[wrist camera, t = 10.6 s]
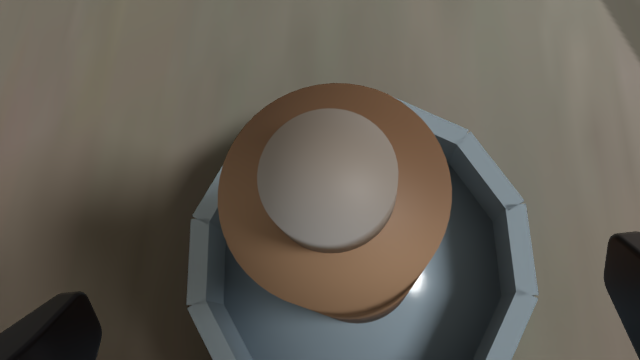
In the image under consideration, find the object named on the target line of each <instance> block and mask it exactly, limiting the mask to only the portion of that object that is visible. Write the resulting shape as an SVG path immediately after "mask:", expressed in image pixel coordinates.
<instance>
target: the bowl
mask: <svg viewBox="0 0 640 360" xmlns="http://www.w3.org/2000/svg"><path fill="white" fill-rule="evenodd" d="M394 98H395V97H394ZM395 99H397V98H395ZM397 100H399V99H397ZM399 101H401V100H399ZM401 102H402V103H404V104H405V105H406V106H408V107H409V108H410V109H412V110H413V111H414V112H415V113H416V114H417V115H418V116H419V117H420V118H421V119H422V120H423V121H424V122H425V123H426V124H427V126H428V127H429V128H430V129H431V131H432V132H433V134H434V135H435V137H436V139H437V140H438V142H439V143H440V145H441V148H442V150H443V152H444V155H445V157H446V160H447V164H448V167H449V171H450V177H451V185H452V204H451V211H450V218H449V221H448V225H447V228H446V232H445V234H444V237H443V239H442V241H441V243H440V245H439V248H438V249H437V251H436V252H435V254H434V256H433V257H432V259H431V260H430V262H429V263H428V265H427V266H426V268H425V269H424V271H423V272H422V274H421V275H420V276H419V278H418V279H417V281H416V282H415V284H414V285H413V287H412V288H411V290H410V291H409V293H408V294H407V296H406V297H405V298H404V300H403V301H402V302H401V304H400V305H399V306H398V307H397V308H396V309H395V310H394V311H393V312H391V313H390V314H388V315H387V316H385V317H383V318H381V319H379V320H376V321H373V322H368V323H359V324H356V323H347V322H343V321H340V320H337V319H334V318H331V317H329V316H326V315H323V314H320V313H318V312H315V311H312V310H309V309H307V308H304V307H301V306H298V305H296V304H293V303H290V302H287V301H284V300H283V299H281V298H279V297H277V296H275V295H273V294H271V293H269V292H268V291H267V290H265V289H264V288H262V287H261V286H260V285H258V284H257V283H256V282H255V281H254V280H253V279H252V278H251V277H250V276H249V275H248V274H247V273H246V272H245V271H244V270H243V269H242V267H241V266H240V265H239V264H238V262H237V261H236V259H235V257H234V256H233V254H232V252H231V251H230V249H229V247H228V245H227V242H226V240H225V237H224V235H223V231H222V228H221V224H220V220H219V212H218V186H219V179H220V174H221V171H222V167H223V166H222V167H221V169H220V171H219V172H218V174H217V176H216V177H215V179H214V181H213V182H212V184H211V185H210V187H209V189H208V190H207V192H206V194H205V195H204V197H203V199H202V200H201V202H200V204H199V205H198V207H197V208H196V210H195V212H194V213H193V215H192V216H193V217H194V218H196V219H191V226H190V245H189V265H188V284H187V303H186V305H189V306H190V307H188V308H187V309H188V311H189V313H190V315H191V317H192V319H193V321H194V323H195V325H196V327H197V329H198V331H199V333H200V335H201V337H202V339H203V341H204V343H205V345H206V347H207V349H208V351H209V353H210V355H211V357H212V359H213V360H511V359H512V357H513V355H514V353H515V350H516V348H517V346H518V343H519V341H520V339H521V337H522V334H523V332H524V330H525V327H526V325H527V323H528V321H529V318H530V316H531V314H532V311H533V309H534V307H535V305H536V302H537V300H538V298H536V297H534V296H537V295H539V294H538V287H537V280H536V273H535V266H534V258H533V251H532V244H531V237H530V230H529V223H528V216H527V209H526V204H521V203H522V202H524V199H523V198H522V197H521V196H520V194H519V193H518V192H517V190H516V189H515V188H514V187H513V185H512V184H511V183H510V181H509V180H508V179H507V178H506V176H505V175H504V174H503V172H502V171H501V170H500V169H499V167H498V166H497V165H496V164H495V162H494V161H493V160H492V158H491V157H490V156H489V155H488V153H487V152H486V151H485V149H484V148H483V147H482V146H481V144H480V143H479V142H478V140H477V139H476V138H475V137H474V135H473V134H472V133H471V132H469V133H468V134H467V132H468V130H467V129H465V128H463V127H461V126H458V125H456V124H454V123H452V122H449V121H447V120H445V119H442V118H440V117H438V116H436V115H433V114H431V113H429V112H426V111H424V110H422V109H420V108H417V107H415V106H413V105H410V104H408V103H406V102H404V101H401Z"/></svg>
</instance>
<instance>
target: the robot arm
mask: <svg viewBox="0 0 640 360" xmlns="http://www.w3.org/2000/svg"><path fill="white" fill-rule="evenodd" d="M604 282H605V286H606V289H607V291H608V293H609V295H610V297H611V300H612V302H613V304H614V306H615V308H616V310H617V313H618V315H619V317H620V319H621V321H622V323H623V325H624V328H625V330H626V332H627V334H628V336H629V338H630V341H631V343H632V345H633V347H634V349H635V351H636V353H637V356H638V358H639V360H640V232H626V233H617V234H614V235H612V236H611V237H610V239H609V242H608V247H607V254H606V261H605V269H604ZM101 336H102V331H101V326H100V323H99V321H98V318H97V316H96V314H95V312H94V310H93V307H92V305H91V303H90V301H89V299H88V297H87V295H86V294H85V293H83V292H80V291H78V292H68V293H61V294H58V295H56V296H55V297H53V298H52V299H50V300H49V301H47V302H46V303H44V304H43V305H41V306H40V307H39V308H37V309H36V310H34V311H33V312H31V313H30V314H28V315H27V316H25V317H24V318H22V319H21V320H19V321H18V322H16V323H15V324H13V325H12V326H10V327H9V328H8V329H6V330H5V331H3V332H2V333H0V360H96V357H97V353H98V349H99V346H100V342H101Z"/></svg>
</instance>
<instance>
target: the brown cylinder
mask: <svg viewBox="0 0 640 360" xmlns="http://www.w3.org/2000/svg"><path fill="white" fill-rule="evenodd" d="M451 204H452V185H451V177H450V171H449V167H448V164H447V160H446V157H445V155H444V152H443V150H442V148H441V145H440V143H439V142H438V140H437V139H436V137H435V135H434V134H433V132H432V131H431V129H430V128H429V127H428V126H427V124H426V123H425V122H424V121H423V120H422V119H421V118H420V117H419V116H418V115H417V114H416V113H415V112H414V111H413V110H412V109H410V108H409V107H408V106H406V105H405V104H404V103H402V102H401V101H399V100H397V99H395V98H394V97H392V96H390V95H388V94H386V93H383V92H381V91H378V90H376V89H372V88H368V87H365V86H361V85H354V84H344V83H330V84H321V85H315V86H310V87H306V88H302V89H299V90H297V91H294V92H291V93H289V94H287V95H285V96H283V97H280V98H278V99H277V100H275V101H274V102H272V103H270V104H269V105H267V106H266V107H265V108H263V109H262V110H261V111H260V112H258V113H257V114H256V115H255V116H254V117H253V118H252V119H251V120H250V121H249V122H248V123H247V124H246V125H245V126H244V128H243V129H242V130H241V132H240V133H239V134H238V136H237V137H236V139H235V140H234V142H233V144H232V146H231V147H230V149H229V151H228V154H227V156H226V159H225V161H224V163H223V167H222V171H221V174H220V179H219V186H218V212H219V220H220V224H221V228H222V231H223V235H224V237H225V240H226V242H227V245H228V247H229V249H230V251H231V252H232V254H233V256H234V257H235V259H236V261H237V262H238V264H239V265H240V266H241V267H242V269H243V270H244V271H245V272H246V273H247V274H248V275H249V276H250V277H251V278H252V279H253V280H254V281H255V282H256V283H257V284H258V285H260V286H261V287H262V288H264V289H265V290H267V291H268V292H269V293H271V294H273V295H275V296H277V297H279V298H281V299H283V300H284V301H287V302H290V303H293V304H296V305H298V306H301V307H304V308H307V309H309V310H312V311H315V312H318V313H320V314H323V315H326V316H329V317H331V318H334V319H337V320H340V321H343V322H347V323H356V324H359V323H368V322H373V321H376V320H379V319H381V318H383V317H385V316H387V315H388V314H390V313H391V312H393V311H394V310H395V309H396V308H397V307H398V306H399V305H400V304H401V302H402V301H403V300H404V298H405V297H406V296H407V294H408V293H409V291H410V290H411V288H412V287H413V285H414V284H415V282H416V281H417V279H418V278H419V276H420V275H421V274H422V272H423V271H424V269H425V268H426V266H427V265H428V263H429V262H430V260H431V259H432V257H433V256H434V254H435V252H436V251H437V249H438V248H439V245H440V243H441V241H442V239H443V237H444V234H445V232H446V228H447V225H448V221H449V218H450V211H451Z"/></svg>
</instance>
